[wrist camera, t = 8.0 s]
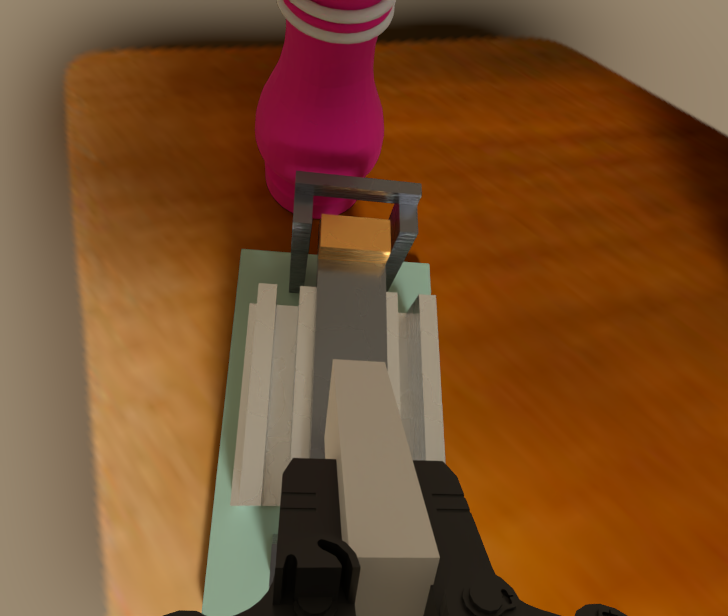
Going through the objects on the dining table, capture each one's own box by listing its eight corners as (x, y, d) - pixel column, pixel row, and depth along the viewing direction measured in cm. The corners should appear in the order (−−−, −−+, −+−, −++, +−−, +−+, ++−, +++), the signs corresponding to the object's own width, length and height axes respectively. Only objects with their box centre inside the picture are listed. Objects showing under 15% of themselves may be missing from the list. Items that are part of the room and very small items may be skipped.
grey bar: (385, 585, 18) (398, 594, 16) (303, 587, 18) (306, 596, 16) (380, 237, 24) (390, 212, 22) (318, 232, 23) (321, 205, 21)
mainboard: (439, 606, 24) (447, 611, 23) (204, 613, 22) (201, 618, 21) (423, 272, 31) (429, 263, 30) (242, 258, 29) (241, 248, 28)
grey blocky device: (425, 570, 23) (496, 600, 16) (229, 574, 22) (204, 608, 14) (413, 270, 29) (460, 187, 22) (258, 257, 28) (252, 165, 20)
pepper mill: (287, 243, 30) (304, -176, 12) (239, 152, 32) (188, -333, 13) (388, 204, 32) (538, -197, 14) (338, 122, 34) (411, -329, 16)
